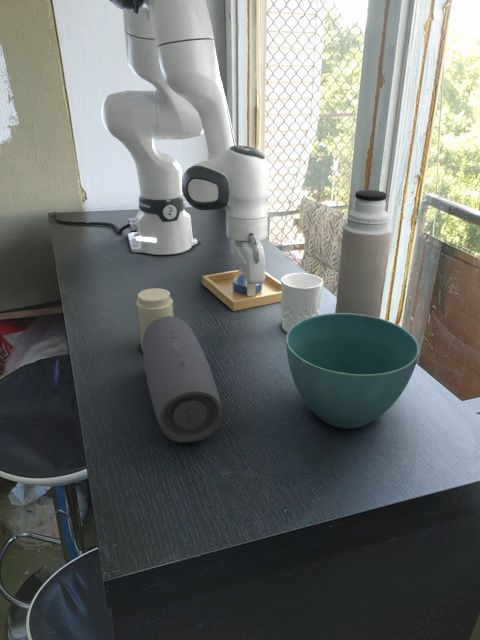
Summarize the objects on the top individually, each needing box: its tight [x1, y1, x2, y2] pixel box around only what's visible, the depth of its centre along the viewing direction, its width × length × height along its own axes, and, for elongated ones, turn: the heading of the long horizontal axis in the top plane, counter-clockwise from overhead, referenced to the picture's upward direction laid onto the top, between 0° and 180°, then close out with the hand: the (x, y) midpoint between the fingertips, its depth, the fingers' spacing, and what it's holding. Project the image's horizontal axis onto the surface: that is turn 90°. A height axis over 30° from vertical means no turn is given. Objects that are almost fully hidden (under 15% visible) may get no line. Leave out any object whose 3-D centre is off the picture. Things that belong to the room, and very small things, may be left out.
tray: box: [201, 269, 281, 312], centre depth 118 cm, size 17×15×2 cm
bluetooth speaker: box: [142, 316, 223, 444], centre depth 77 cm, size 23×9×10 cm, turn 17°
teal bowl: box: [285, 312, 420, 430], centre depth 75 cm, size 18×18×12 cm
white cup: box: [280, 272, 324, 333], centre depth 100 cm, size 8×8×10 cm
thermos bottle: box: [334, 189, 393, 319], centre depth 90 cm, size 8×8×28 cm
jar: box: [135, 287, 175, 352], centre depth 92 cm, size 6×6×10 cm
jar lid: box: [233, 276, 262, 293], centre depth 118 cm, size 7×7×2 cm
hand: (246, 288), depth 118 cm, fingers closed on jar lid, 6 cm apart
